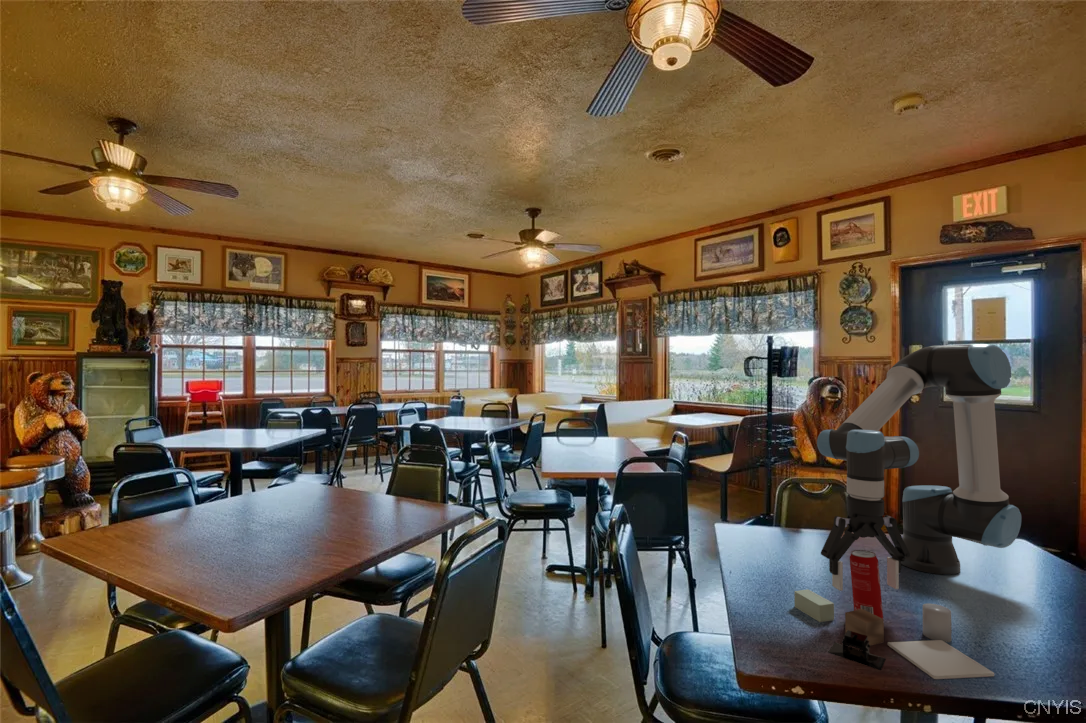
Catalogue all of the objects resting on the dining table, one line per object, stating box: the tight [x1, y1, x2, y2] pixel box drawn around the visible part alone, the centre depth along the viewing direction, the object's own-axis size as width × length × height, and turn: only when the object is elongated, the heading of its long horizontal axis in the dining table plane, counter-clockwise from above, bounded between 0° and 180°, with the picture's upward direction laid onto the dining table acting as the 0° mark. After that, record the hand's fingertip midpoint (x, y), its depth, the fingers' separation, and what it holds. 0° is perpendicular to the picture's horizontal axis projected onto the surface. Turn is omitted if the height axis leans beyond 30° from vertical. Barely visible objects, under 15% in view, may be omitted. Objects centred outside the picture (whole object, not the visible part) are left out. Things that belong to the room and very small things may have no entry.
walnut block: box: [844, 609, 885, 647], centre depth 113 cm, size 5×5×5 cm
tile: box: [887, 639, 995, 680], centre depth 104 cm, size 12×12×1 cm
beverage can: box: [849, 549, 884, 619], centre depth 122 cm, size 6×6×15 cm
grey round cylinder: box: [922, 603, 953, 643], centre depth 113 cm, size 5×5×6 cm
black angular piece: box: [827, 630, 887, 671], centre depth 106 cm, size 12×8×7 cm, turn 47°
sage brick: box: [794, 588, 835, 623], centre depth 124 cm, size 4×8×4 cm, turn 15°
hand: (865, 587), depth 122 cm, fingers open, 13 cm apart
